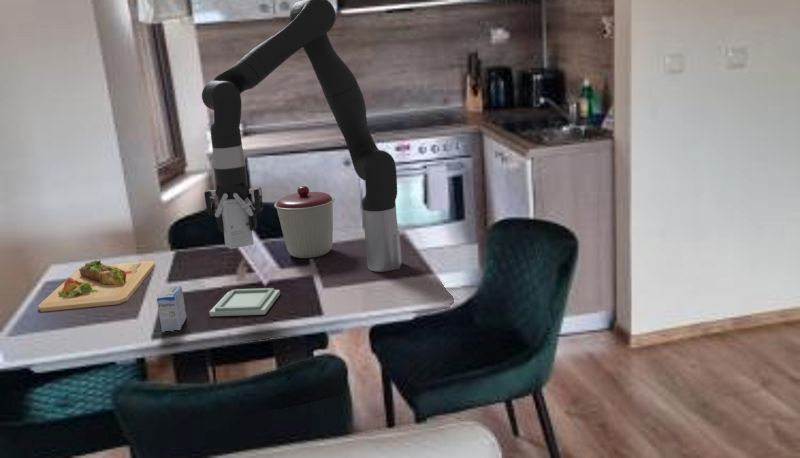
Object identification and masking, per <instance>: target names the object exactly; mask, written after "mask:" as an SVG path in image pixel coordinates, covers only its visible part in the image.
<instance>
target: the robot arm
mask: <svg viewBox="0 0 800 458" xmlns="http://www.w3.org/2000/svg"><path fill="white" fill-rule="evenodd" d="M336 15H337V13H336V9H335V7H334V6H333V4H332V3H331V2H330V1H329V0H299V1H297V2H295V3H294V4H293V5H292V7H291V9H290V12H289V22H290V23H288V24H287V25H286V26H285V27H283V29H281V30H280V31H279V32H277V33H276V34H274V35H272V36H271V37H269V38H268V39H265V41H263V42H260V44H258V45H256V46H255V47H253V48H252V49H251V50H250V51H249V52H247V53H246V54H245V55H244V56H243V57H241V58H240V59H239V60H238V61H237V62H236V63H235V64H234V65H233V66H230V67H229V68H228V69H226V70H224V71H222V72H221V73H220V74H218V75H217V76H215V77H213V78H212V79H211V80H209V81H208V82H207V83H206V84H205V86H204V88H203V89H202V92H201V100H202V103H203V104H204V105H205V107H206V108H208V109H209V110H212V111H213V115H214V116H213V119H214V120H213V121H214V122H213V123H212V124H211V125H210V138H211V146H212V165H213V171H214V178H215V185H216V189H214V190H213V189H211V188H209V189H208V190H206V191H204V202H205V205H206V211H207V212H206V213H207V215H208V216H214V217H215V220H216V226H217V230H219V232H223V233H224V229H223V221H222V210H223V206H224V205H223V200H227V199H236V200H237V201H238V202H239V204H240V205H241V206H242V208H243V209H245V210H246V212H247V213H248V214H249V216H248V218H249V226H250V231H252V232H253V231H255V230H256V228H257V227H258V220H257V214H260V213H261V212H262V211H264V206H263V204H264V203H263V192H262V188H261V187H256V188H250V186H249V184H248V175H247V167H246V158H245V151H244V149H243V148H244V147H243V141H242V133H241V128H240V127H241V126H240V125H241V119H242V97H241V94H242V93H243V92H245V91H248V90H251V89H254V88H256V86H258V85H259V84H260V83H262V82H263V81H264V80H265V79H266V78H267V77H268V76H269V75H271V74H272V73H273V72H274V71H276V69H277V68H279V66H281V65H282V64H283V63H284V62H286V61H287V60H288V59H289V58H291V56H293V55H294V54H295V53H297V51H300V50H301V49H302V48H303V50H304V51H305V55H307V57H308V59H309V61H310V64H311V66H312V69H313V71H314V74H315V75H316V78H317V80H318V83H319V85H320V87H321V89H322V91H323V94H324V95H323V96H324V97H325V98H324V99H325V100H326V101H327V104H328V106H329V109H330V111H331V113H332V114H333V115H332V116H333V117H334V119H335V121H336V123H337V126H338V128H339V130H340V132H341V134H342V136H343V138H344V141H345V144H346V147H347V149H348V150H347V151H348V152H349V155H350V159H351V163H352V166H353V168H354V171H355V173H356V174H357V176H358V177H359V178H360V179H361V180H362V181H364V183H365V196H363V197H362V200H361V209H362V219H363V229H364V237H365V248H366V249H365V250H366V262H367V268H368V270H369V271H373V272H380V273H381V272H390V271H394V270H400V269H401V266H402V264H403V262H402V250H401V247H402V246H401V238H400V237H401V236H400V230H399V228H398V218H397V217H398V216H397V205H396V200H397V197H398V175H397V167H396V162H395V160H394V157H393V156H392V154H390V153H389V152H388V151H385V150H381V149H379V148H378V146H377V145H376V143H375V141H374V139H373V137H372V134H371V133H370V129H369V126H368V119H367V109H366V108H367V107H366V102H365V98H364V95H363V93H362V90H361V87H360V86H359V82H358V81H357V79H356V77H355V75H354V73H353V72H352V71H351V69H350V68H349V67H348V65H347V64H346V63H345V62H344V61H343V60H342V58H341V57H340V56H339V55H338V54H337V52H336V51H335V49H334V47H333V45H332V44H331V41H330V38H329V36H328V32H330V31H331V30H332V28H334V25H335V22H336V17H337V16H336ZM250 194H251V196H252V198H253V199H254V206H253V203H252V201H251V200H250V199H249V203H247V204H246V203H245V199H246V197H248V198H249V195H250ZM216 197H217V198H218V199H219V204H218V206H217V208H216V204H215V198H216ZM220 200H221V201H220Z"/></svg>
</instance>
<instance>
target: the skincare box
mask: <svg viewBox="0 0 800 458" xmlns="http://www.w3.org/2000/svg"><path fill="white" fill-rule="evenodd" d="M249 200H250V199H249V196H248V197H246V199H245V203H246V204H247V203H249ZM220 201H221V200H220V199H219V202H220ZM223 205H224V206H223V210H222V221H223V229H224V232H223V236H224V245H225V247H226V248H228V249H230V250H233V249H238V248H243V247H247V246H253V245H254V237H253V236H254V235H253V231H250V226H249V218H248V216H249V214H248V213H247V212H246V210H245V209H243V208H242V206H241V205H240V204H239V202H238V201H237V200H236V199H227V200H223Z"/></svg>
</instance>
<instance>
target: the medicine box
mask: <svg viewBox="0 0 800 458" xmlns="http://www.w3.org/2000/svg"><path fill="white" fill-rule="evenodd" d="M183 291H184V290H183V287H182V286H179V285H177V286H176V285H175V286H164V287H163V289H162V290H161V292H160V294H159V295H158V297H157V298H156V303H157V309H158V315H159V321H160V326H161V331H162V333H166V332H165V331H171V332H175V331H174V330H179V331H181V330H182V328H181V327H183V326H184V323H185V321H186V319H187V313H186V305H185V298H184V293H183ZM182 325H183V326H182ZM180 329H181V330H180Z"/></svg>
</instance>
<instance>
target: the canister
mask: <svg viewBox="0 0 800 458" xmlns="http://www.w3.org/2000/svg"><path fill="white" fill-rule="evenodd" d="M335 200H336V199H335V197H334V196H333V195H330V194H329V193H326V192H322V191H321V192H320V191H310V188H309V187H308V186H307V185H301V186H298V188H297V192H296V193H293V194H289V195H286V196H283V197H281V198H279V199H278V201H276V202H275V203H273V204H274V205H273V207H274V208H275V209H276V210H277V216H278V218H279V219H278V220H279V222H280V227H281V231H282V236H283V240H284V243H285V246H286V249H287V252H288V254H289V255H290V256H292V257H294V258H298V259H314V258H318V257H321V256H322V257H323V256H324V255H326V254H328V253H329V252H330V251H331V249H332V247H333V234H334V227H333V226H334V221H333V220H334V202H335Z"/></svg>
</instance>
